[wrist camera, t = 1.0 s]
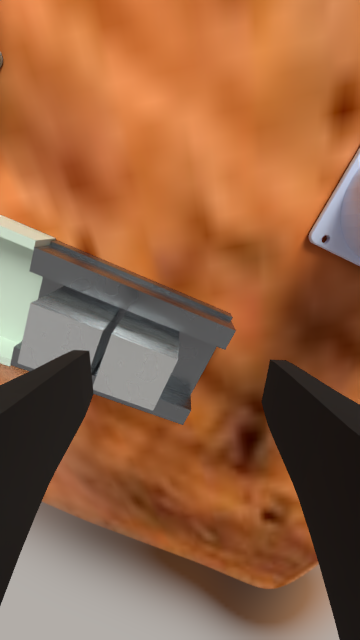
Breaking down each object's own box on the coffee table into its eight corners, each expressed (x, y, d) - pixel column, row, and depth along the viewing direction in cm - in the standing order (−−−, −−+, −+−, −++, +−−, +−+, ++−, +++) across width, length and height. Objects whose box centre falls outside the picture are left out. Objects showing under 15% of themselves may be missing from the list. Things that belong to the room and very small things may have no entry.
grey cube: (179, 331, 18) (178, 359, 14) (159, 374, 19) (153, 410, 16) (127, 310, 17) (111, 334, 14) (110, 356, 19) (91, 389, 15)
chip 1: (120, 307, 17) (102, 330, 14) (103, 353, 19) (83, 386, 15) (64, 285, 17) (30, 303, 13) (51, 334, 18) (17, 363, 14)
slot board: (230, 313, 18) (237, 327, 16) (181, 404, 21) (181, 427, 19) (56, 240, 17) (35, 243, 14) (31, 349, 20) (9, 367, 17)
